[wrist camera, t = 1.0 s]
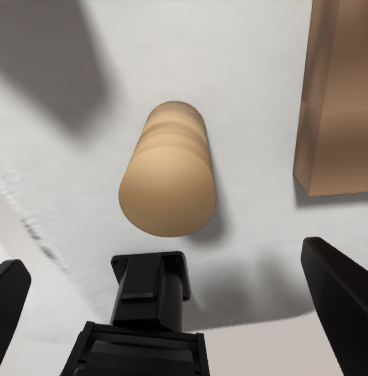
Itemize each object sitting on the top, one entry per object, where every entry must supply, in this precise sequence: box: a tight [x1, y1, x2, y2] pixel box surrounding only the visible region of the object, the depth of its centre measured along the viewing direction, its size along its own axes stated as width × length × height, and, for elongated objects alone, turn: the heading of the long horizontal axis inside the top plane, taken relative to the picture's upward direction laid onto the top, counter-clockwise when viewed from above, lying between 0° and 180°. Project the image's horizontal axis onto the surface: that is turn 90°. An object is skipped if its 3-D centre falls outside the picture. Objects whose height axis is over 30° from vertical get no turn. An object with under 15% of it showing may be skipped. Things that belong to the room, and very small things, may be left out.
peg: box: [119, 101, 216, 237], centre depth 14 cm, size 4×4×8 cm
